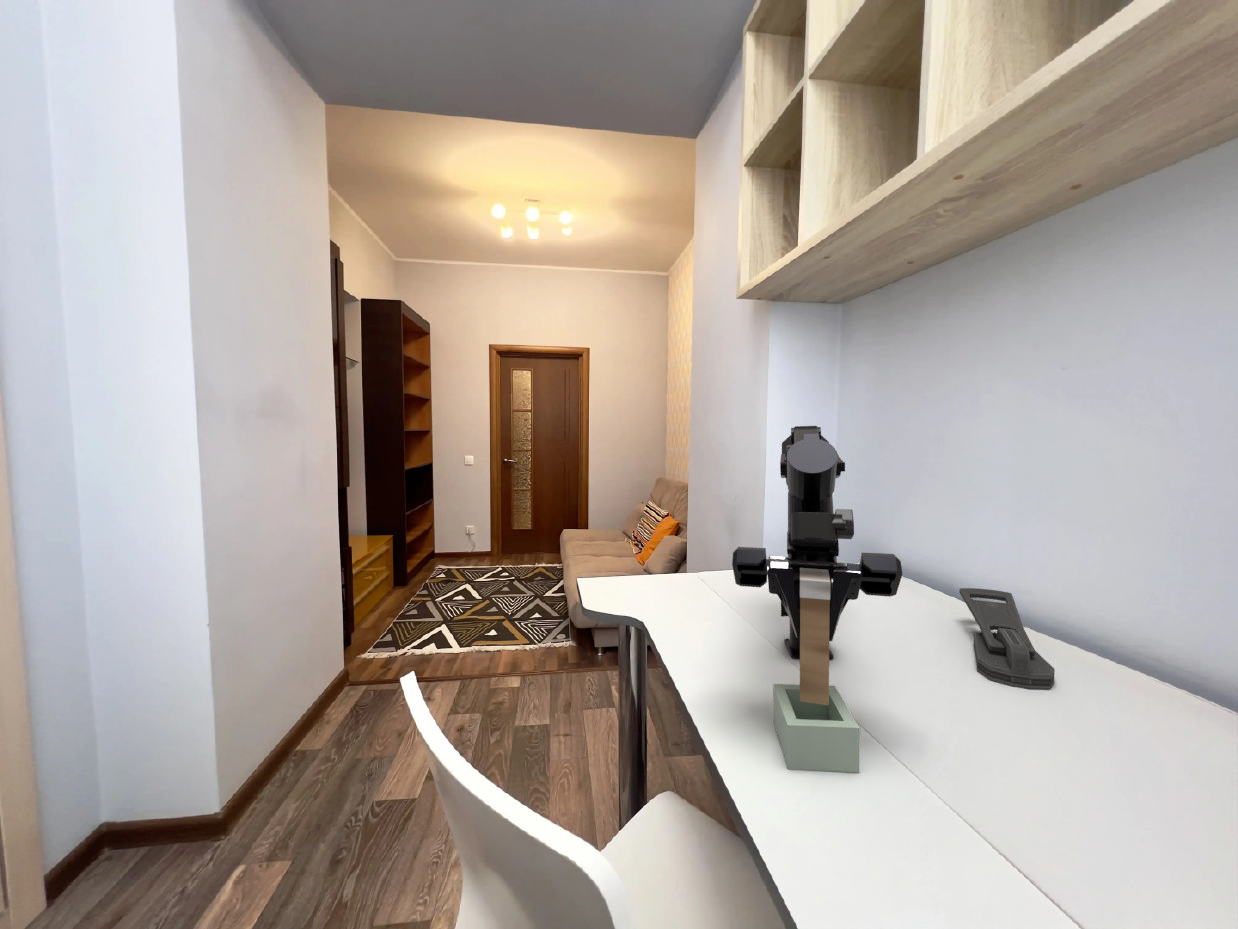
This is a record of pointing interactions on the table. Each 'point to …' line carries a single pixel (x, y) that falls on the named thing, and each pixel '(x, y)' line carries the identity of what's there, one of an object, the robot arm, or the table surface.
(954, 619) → the table surface
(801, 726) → the post foot
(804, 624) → the rail end
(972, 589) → the zipper pull
